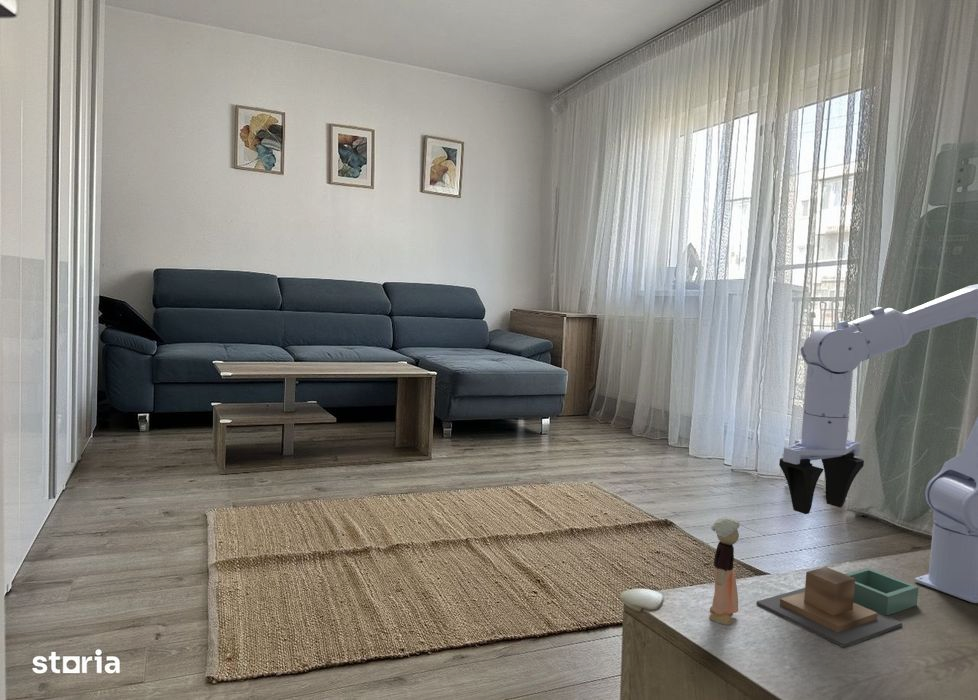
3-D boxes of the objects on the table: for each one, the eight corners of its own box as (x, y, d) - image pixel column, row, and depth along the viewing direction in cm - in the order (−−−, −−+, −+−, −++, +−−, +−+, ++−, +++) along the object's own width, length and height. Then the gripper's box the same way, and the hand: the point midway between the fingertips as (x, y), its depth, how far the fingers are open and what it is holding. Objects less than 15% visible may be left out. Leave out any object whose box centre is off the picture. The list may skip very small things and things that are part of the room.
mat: (814, 587, 94) (814, 585, 94) (902, 626, 84) (902, 622, 84) (756, 604, 88) (756, 601, 88) (843, 647, 78) (843, 644, 78)
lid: (818, 593, 91) (821, 558, 91) (877, 619, 84) (880, 581, 84) (779, 604, 87) (782, 568, 87) (837, 632, 81) (841, 593, 80)
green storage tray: (865, 584, 96) (866, 567, 96) (916, 605, 90) (918, 586, 90) (835, 593, 92) (836, 576, 92) (886, 615, 86) (888, 596, 86)
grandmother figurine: (742, 631, 81) (750, 527, 80) (709, 626, 82) (716, 524, 81) (733, 603, 88) (739, 508, 87) (702, 599, 89) (708, 505, 88)
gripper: (830, 407, 102) (823, 495, 103) (767, 412, 95) (760, 506, 96) (877, 415, 96) (869, 508, 97) (813, 421, 89) (805, 521, 90)
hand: (818, 508), depth 96 cm, fingers open, 7 cm apart
